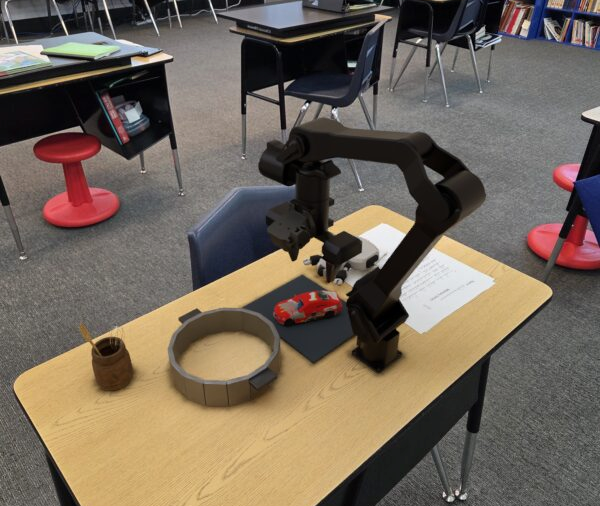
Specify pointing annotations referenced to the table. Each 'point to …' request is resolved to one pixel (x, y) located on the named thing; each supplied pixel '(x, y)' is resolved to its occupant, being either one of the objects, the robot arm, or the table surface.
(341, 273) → the robot toy
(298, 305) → the race car
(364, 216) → the table surface
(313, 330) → the rubber mat
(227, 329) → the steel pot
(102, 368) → the utensil holder
